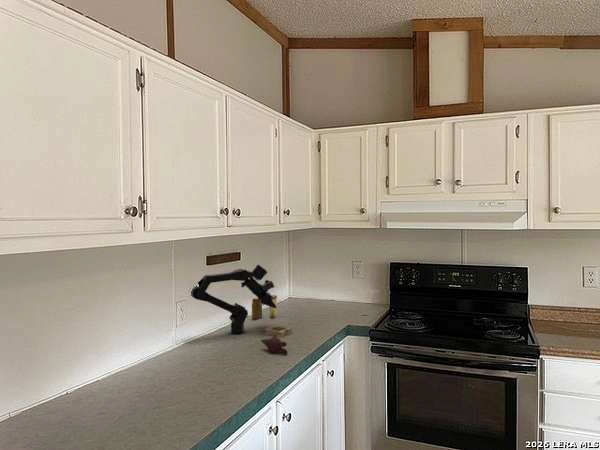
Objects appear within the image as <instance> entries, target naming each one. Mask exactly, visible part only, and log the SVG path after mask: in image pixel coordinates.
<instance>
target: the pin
mask: <svg viewBox="0 0 600 450" xmlns="http://www.w3.org/2000/svg"><path fill="white" fill-rule="evenodd" d="M270 295H271V296H272V297H271V300H272V301H273V302H274V304H275V305H276V308H273V307H270V306H268V307H269V308H268V311H269V312H268V315H269V317H268V319H269V320H276V319H277V318H278V316H277V313H278V310H277V306H278V305H277V301H278V299H277V298H278V295H276V294H275V295H274V294H270Z"/></svg>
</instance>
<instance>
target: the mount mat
mask: <svg viewBox="0 0 600 450" xmlns="http://www.w3.org/2000/svg"><path fill="white" fill-rule="evenodd" d="M274 326H275V325H270V326H268V327H265V328H262V329H261V331H265V330H266V329H268V328H271V327H274Z"/></svg>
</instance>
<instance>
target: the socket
mask: <svg viewBox="0 0 600 450" xmlns="http://www.w3.org/2000/svg"><path fill="white" fill-rule="evenodd" d="M273 326H274V327H271V328H268V329H266V330H264V335H265V336H271V337H276V338H284V337H286V336H287V335H290V334H292V333H293V327H290V326H282V325H273Z"/></svg>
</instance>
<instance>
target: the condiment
mask: <svg viewBox="0 0 600 450" xmlns="http://www.w3.org/2000/svg"><path fill="white" fill-rule="evenodd" d="M248 319H249V320H252V321H258V320H260V319H263V304H262V303H261V302H260V300H259V299H258V297H254V298H252V303H251V317H249V318H248Z"/></svg>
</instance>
